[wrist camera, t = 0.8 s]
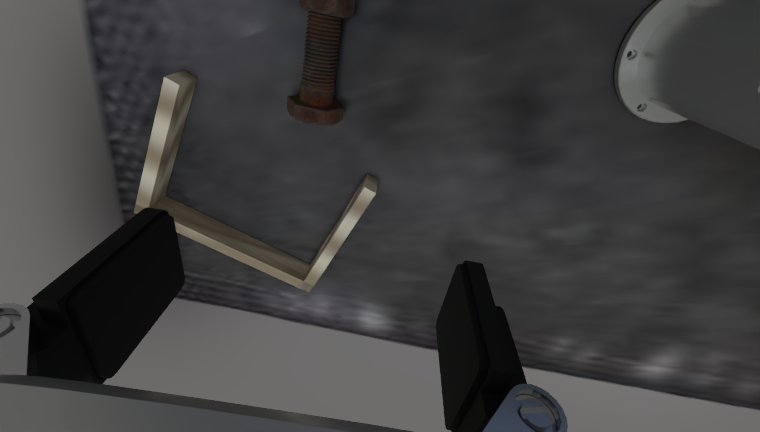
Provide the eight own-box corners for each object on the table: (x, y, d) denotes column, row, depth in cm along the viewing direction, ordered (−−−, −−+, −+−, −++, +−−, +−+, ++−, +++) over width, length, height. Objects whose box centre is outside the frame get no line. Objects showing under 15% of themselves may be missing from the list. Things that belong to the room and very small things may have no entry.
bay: (183, 70, 37) (164, 76, 34) (378, 179, 42) (376, 193, 39) (151, 198, 46) (133, 212, 43) (315, 275, 51) (309, 292, 48)
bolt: (349, -52, 32) (328, 110, 40) (294, -69, 30) (283, 106, 37) (375, -54, 28) (346, 128, 35) (314, -74, 26) (297, 125, 33)
